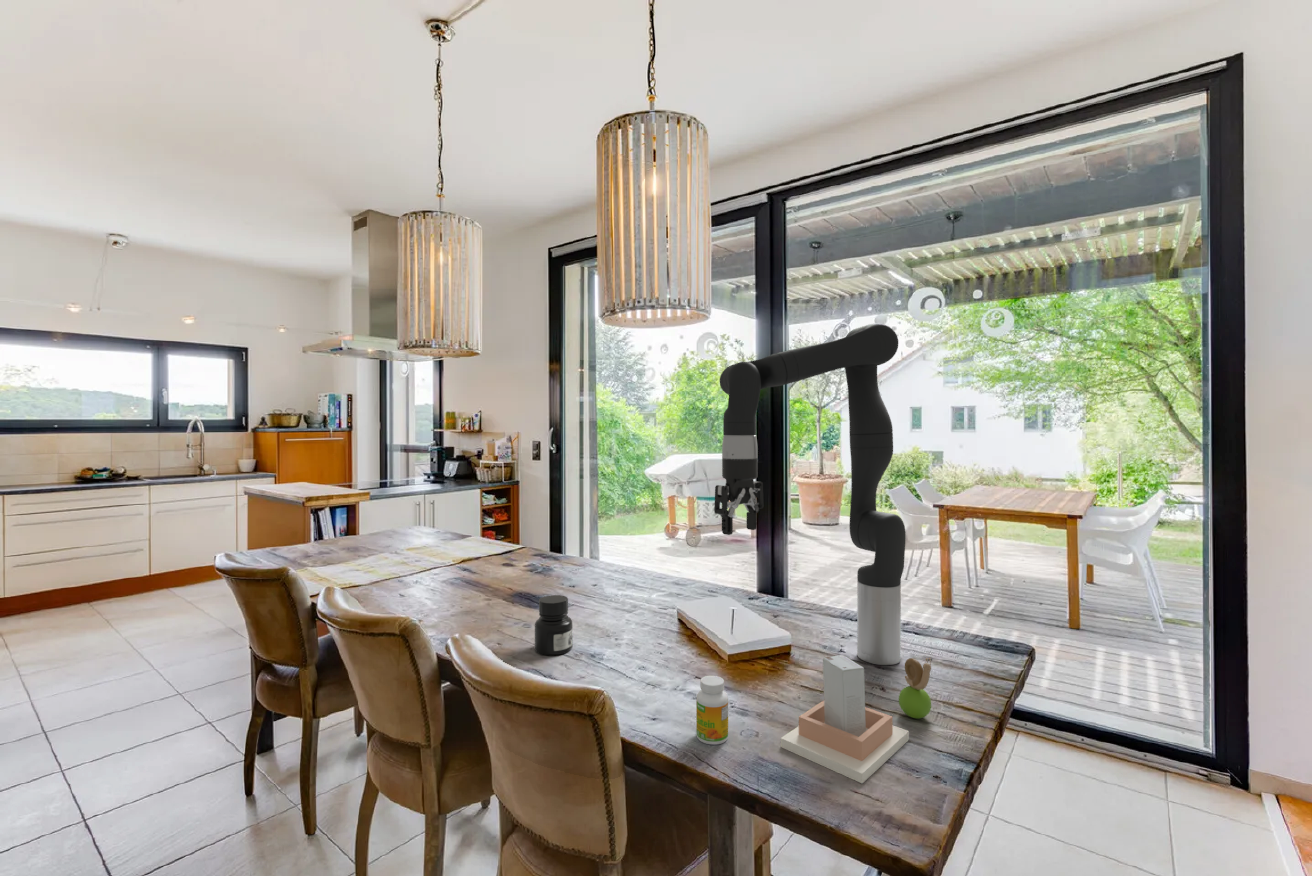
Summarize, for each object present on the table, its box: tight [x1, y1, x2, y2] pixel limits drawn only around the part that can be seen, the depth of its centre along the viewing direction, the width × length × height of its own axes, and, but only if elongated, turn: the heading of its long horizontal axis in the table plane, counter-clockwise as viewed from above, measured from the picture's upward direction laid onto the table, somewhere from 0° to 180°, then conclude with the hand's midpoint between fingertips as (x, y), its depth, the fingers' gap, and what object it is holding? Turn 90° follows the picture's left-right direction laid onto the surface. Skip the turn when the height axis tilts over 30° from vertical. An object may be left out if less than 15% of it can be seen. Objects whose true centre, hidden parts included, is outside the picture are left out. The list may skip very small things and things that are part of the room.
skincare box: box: [822, 654, 866, 737], centre depth 97 cm, size 6×4×12 cm
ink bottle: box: [534, 594, 574, 656], centre depth 139 cm, size 10×9×12 cm
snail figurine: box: [898, 657, 933, 720], centre depth 105 cm, size 5×6×12 cm
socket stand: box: [780, 699, 910, 784], centre depth 97 cm, size 17×14×4 cm
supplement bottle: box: [695, 675, 729, 746], centre depth 99 cm, size 5×5×10 cm
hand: (739, 531), depth 126 cm, fingers open, 8 cm apart
